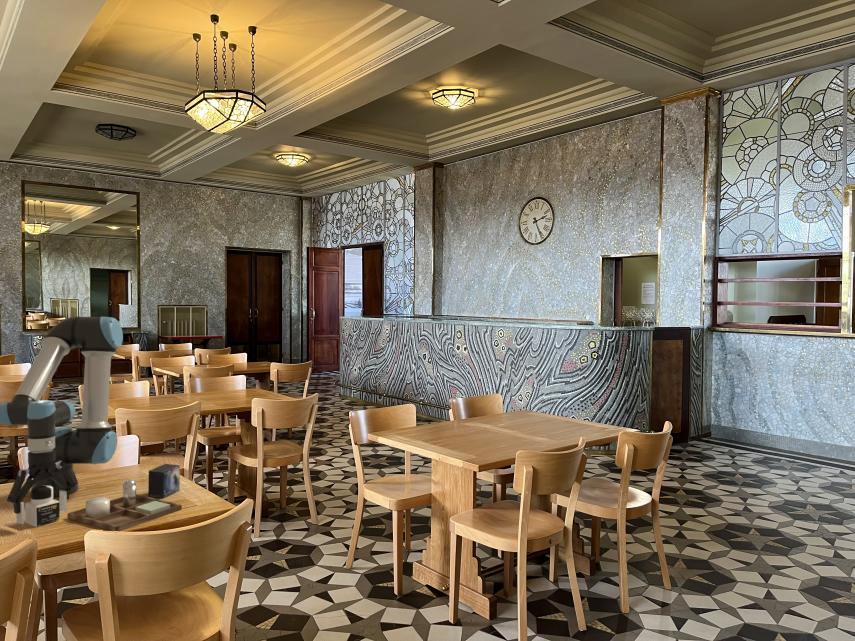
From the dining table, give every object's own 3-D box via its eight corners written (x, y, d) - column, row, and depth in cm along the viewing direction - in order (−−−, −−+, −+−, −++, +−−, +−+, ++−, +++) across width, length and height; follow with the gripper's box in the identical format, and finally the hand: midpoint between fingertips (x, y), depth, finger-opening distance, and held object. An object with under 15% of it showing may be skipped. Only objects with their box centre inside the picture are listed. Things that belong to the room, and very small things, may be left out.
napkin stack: (135, 513, 217) (135, 507, 217) (155, 506, 224) (155, 500, 224) (151, 517, 214) (151, 510, 214) (170, 510, 220) (170, 504, 220)
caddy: (67, 520, 212) (67, 513, 212) (133, 500, 233) (133, 493, 233) (116, 534, 200) (116, 527, 200) (181, 511, 221) (181, 504, 221)
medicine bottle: (37, 529, 204) (36, 491, 203) (24, 525, 207) (24, 487, 207) (60, 523, 210) (59, 485, 209) (48, 518, 213) (47, 482, 213)
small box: (163, 501, 232) (163, 471, 232) (147, 499, 234) (147, 470, 233) (180, 492, 243) (180, 464, 242) (164, 491, 244) (164, 463, 244)
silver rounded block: (81, 517, 213) (81, 501, 213) (100, 511, 219) (100, 496, 219) (94, 521, 209) (94, 505, 209) (114, 514, 216) (114, 499, 215)
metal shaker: (120, 506, 224) (120, 480, 223) (131, 503, 227) (130, 477, 227) (128, 508, 222) (128, 482, 221) (138, 505, 225) (138, 479, 225)
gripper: (7, 460, 195) (8, 530, 196) (86, 444, 217) (86, 507, 217) (-7, 456, 198) (-6, 526, 199) (72, 441, 220) (72, 504, 221)
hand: (42, 516), depth 208 cm, fingers open, 13 cm apart
